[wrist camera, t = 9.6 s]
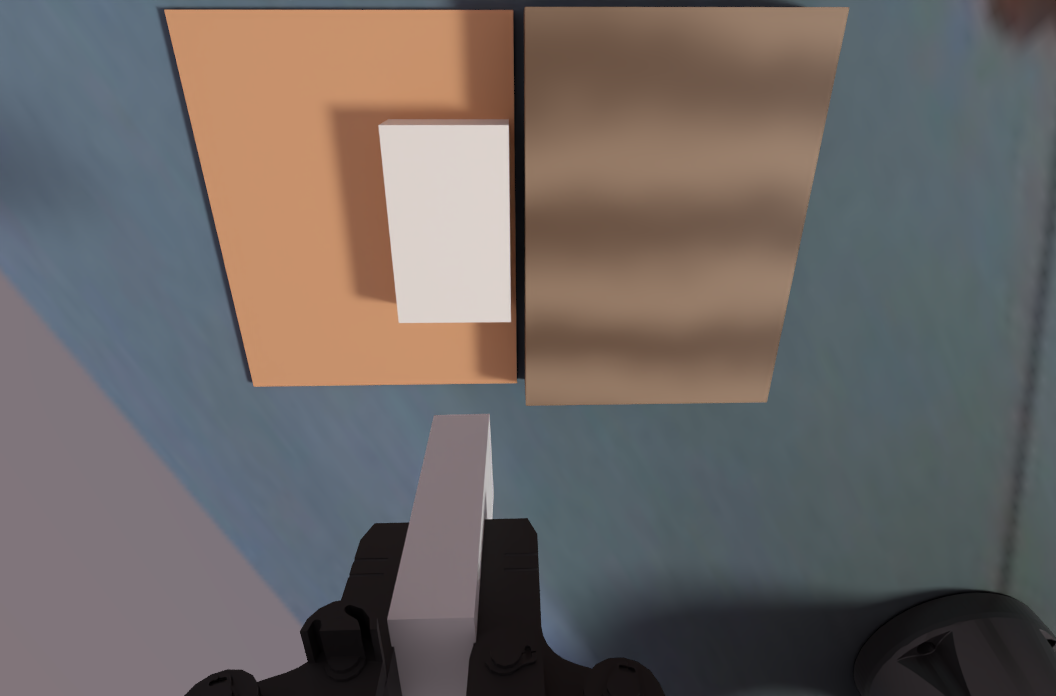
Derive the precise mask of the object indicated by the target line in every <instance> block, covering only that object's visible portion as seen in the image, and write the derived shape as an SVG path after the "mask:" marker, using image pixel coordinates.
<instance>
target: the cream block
mask: <svg viewBox="0 0 1056 696" xmlns="http://www.w3.org/2000/svg"><path fill="white" fill-rule="evenodd" d="M378 127H379V136H380V146H381V156H382V165H383V175H384V185H385V195H386V204H387V214H388V224H389V233H390V243H391V253H392V262H393V272H394V282H395V292H396V301H397V311H398V321H399V323H467V322H511V277H510V184H509V119H388V120H386V121H384V122H383V123H381V124H379V125H378Z"/></svg>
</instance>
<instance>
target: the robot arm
mask: <svg viewBox="0 0 1056 696" xmlns="http://www.w3.org/2000/svg"><path fill="white" fill-rule="evenodd" d="M493 495H494V493H493V474H492V454H491V435H490V416H489V414H466V415H434V418H433V422H432V426H431V431H430V435H429V440H428V444H427V448H426V453H425V457H424V461H423V466H422V470H421V474H420V479H419V483H418V487H417V492H416V496H415V500H414V505H413V509H412V513H411V518H410V522H409V523H375V524H374V525H373V526H372V527H371V528H370V530H369V531H368V532H367V533H366V534H365V535H364V536H363V538H362V539H361V540H360V543H359V546H358V549H357V552H356V555H355V561H354V562H353V565H352V568H351V571H350V577H349V578H348V580H347V583H346V586H345V590H344V593H343V596H342V599H341V601H335V602H332V603H330V604H328V605H326V606H324V607H322V608H320V609H318V610H317V611H316V612H315V613H314V614H313V615H311V616H310V617H309V618H308V619H307V621H306V622H305V624H304V626H303V627H302V629H301V631H300V634H301V637H302V641H303V644H304V649H305V653H306V656H307V660H308V662H307V663H305V664H303V665H302V666H300V667H299V668H296V669H294V670H291V671H289V672H287V673H284V674H281V675H278V676H274V677H271V678H268V679H265V680H262V681H259V682H256V680H255V678H254V677H253V675H251V674H249V673H247V672H245V671H243V670H224V671H221V672H218V673H215V674H212V675H210V676H208V677H207V678H205V679H203V680H202V681H200V682H199V683H197V684H195V685H194V686H193V688H191V690H189V692H188V693H187V694H186V695H185V696H665V694H664V692H663V690H662V688H661V686H660V684H659V682H658V681H657V679H656V678H655V677H654V675H653V674H652V672H651V671H650V670H649V669H647V668H646V667H644V666H643V665H641V664H640V663H638V662H637V661H633V660H630V659H626V658H608V659H606V660H604V661H602V662H600V663H598V664H596V665H595V666H594V667H593V668H592V669H591V668H588V667H584V666H581V665H578V664H574V663H572V662H569V661H567V660H565V659H563V658H561V657H560V656H558V655H557V654H556V653H554V652H553V650H552V649H551V648H550V647H549V646H548V645H547V643H546V641H545V639H544V637H543V633H542V628H541V611H540V587H539V564H538V541H537V533H536V531H535V530H534V528H533V526H532V525H531V523H530V522H529V520H528V518H521V519H492V514H493ZM854 681H855V684H856V687H857V689H858V691H859V692H860V694H861V696H1056V637H1055V636H1054V634H1053V633H1052V632H1051V631H1050V629H1049V628H1048V627H1047V626H1046V625H1045V624H1044V623H1043V622H1042V621H1041V620H1040V619H1039V617H1038V616H1037V615H1036V614H1035V613H1034V612H1033V611H1032V610H1031V609H1030V608H1029V607H1028V606H1026V605H1025V604H1024V603H1022V602H1020V601H1018V600H1016V599H1014V598H1011V597H1008V596H1004V595H999V594H992V593H965V594H957V595H951V596H946V597H942V598H938V599H935V600H932V601H929V602H926V603H923V604H921V605H918V606H916V607H913V608H911V609H909V610H907V611H905V612H903V613H901V614H900V615H898V616H896V617H895V618H893V619H892V620H890V621H889V622H887V623H886V624H885V625H883V626H882V627H881V628H880V629H878V630H877V631H876V632H875V633H874V634H873V635H872V636H871V637H870V638H869V639H868V641H867V642H866V643H865V644H864V646H863V647H862V649H861V650H860V652H859V654H858V656H857V659H856V662H855V665H854Z"/></svg>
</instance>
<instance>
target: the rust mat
mask: <svg viewBox="0 0 1056 696" xmlns="http://www.w3.org/2000/svg"><path fill="white" fill-rule="evenodd" d="M164 11H165V16H166V20H167V24H168V28H169V32H170V37H171V41H172V45H173V49H174V53H175V58H176V62H177V66H178V70H179V74H180V79H181V83H182V87H183V91H184V95H185V100H186V104H187V108H188V112H189V116H190V121H191V125H192V129H193V133H194V137H195V142H196V146H197V150H198V154H199V158H200V163H201V167H202V171H203V175H204V179H205V184H206V188H207V192H208V196H209V201H210V205H211V209H212V213H213V217H214V222H215V226H216V230H217V234H218V238H219V243H220V247H221V251H222V255H223V259H224V264H225V268H226V272H227V276H228V280H229V285H230V289H231V293H232V297H233V301H234V306H235V310H236V314H237V318H238V322H239V327H240V331H241V335H242V339H243V343H244V348H245V352H246V356H247V360H248V364H249V369H250V373H251V377H252V381H253V385H254V387H258V386H334V385H409V384H485V383H517V350H516V249H515V148H514V47H513V10H164ZM388 119H509V184H510V277H511V322H467V323H399V321H398V311H397V301H396V292H395V282H394V272H393V262H392V253H391V243H390V233H389V224H388V214H387V204H386V195H385V185H384V175H383V165H382V156H381V146H380V136H379V127H378V125H379V124H381V123H383V122H384V121H386V120H388Z"/></svg>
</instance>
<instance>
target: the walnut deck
mask: <svg viewBox="0 0 1056 696" xmlns="http://www.w3.org/2000/svg"><path fill="white" fill-rule="evenodd" d="M848 12H849V7H525V8H524V270H525V395H526V406H535V405H606V404H676V403H747V402H767V398H768V394H769V389H770V384H771V379H772V374H773V370H774V365H775V360H776V355H777V351H778V346H779V341H780V336H781V331H782V327H783V322H784V317H785V312H786V308H787V303H788V298H789V293H790V288H791V284H792V279H793V274H794V269H795V265H796V260H797V255H798V250H799V246H800V241H801V236H802V231H803V226H804V222H805V217H806V212H807V207H808V203H809V198H810V193H811V188H812V183H813V179H814V174H815V169H816V164H817V160H818V155H819V150H820V145H821V140H822V136H823V131H824V126H825V121H826V117H827V112H828V107H829V102H830V98H831V93H832V88H833V83H834V78H835V74H836V69H837V64H838V59H839V55H840V50H841V45H842V40H843V35H844V31H845V26H846V21H847V16H848Z"/></svg>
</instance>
